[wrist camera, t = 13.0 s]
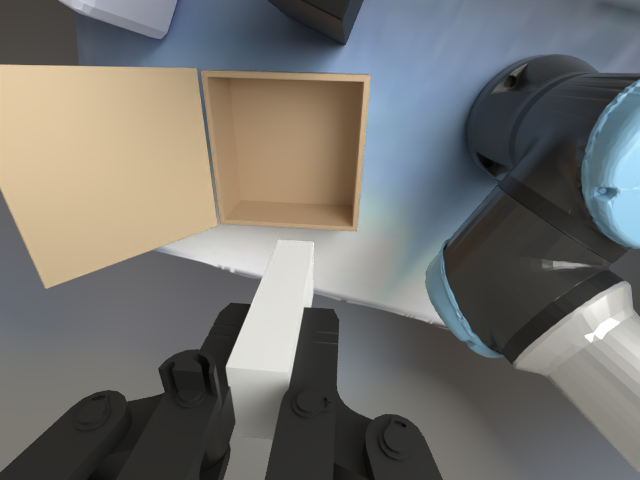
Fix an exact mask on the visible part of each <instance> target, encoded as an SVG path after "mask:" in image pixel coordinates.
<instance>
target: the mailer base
mask: <svg viewBox="0 0 640 480" xmlns="http://www.w3.org/2000/svg"><path fill="white" fill-rule="evenodd" d="M201 77H202V85H203V92H204V100H205V108H206V116H207V123H208V131H209V139H210V146H211V154H212V162H213V170H214V177H215V185H216V193H217V201H218V208H219V216H220V224H236V225H253V226H271V227H288V228H306V229H323V230H341V231H357V226H358V215H359V203H360V192H361V180H362V169H363V157H364V146H365V134H366V123H367V111H368V100H369V88H370V77H371V75H368V74H350V73H316V72H282V71H248V70H201Z"/></svg>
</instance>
